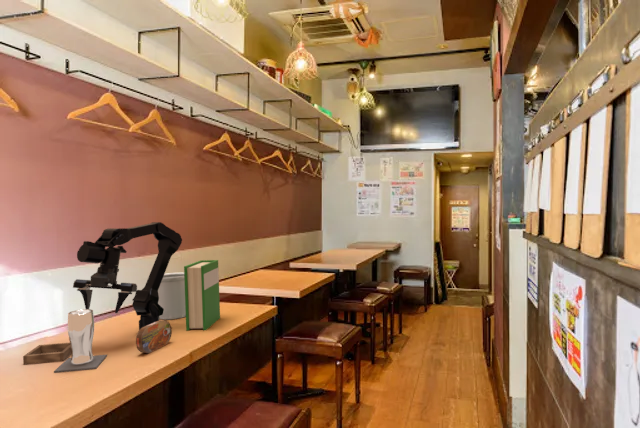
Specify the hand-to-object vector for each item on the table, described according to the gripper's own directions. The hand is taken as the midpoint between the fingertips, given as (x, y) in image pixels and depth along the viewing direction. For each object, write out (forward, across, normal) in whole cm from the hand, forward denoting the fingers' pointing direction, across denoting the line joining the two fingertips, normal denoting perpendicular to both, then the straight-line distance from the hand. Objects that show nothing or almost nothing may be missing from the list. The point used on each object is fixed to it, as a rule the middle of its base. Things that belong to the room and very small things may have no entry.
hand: (101, 312), depth 143 cm
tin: (+10, +19, -2) cm, 22 cm away
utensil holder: (+3, +15, +41) cm, 43 cm away
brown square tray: (+14, -12, -4) cm, 19 cm away
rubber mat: (+14, +1, -13) cm, 19 cm away
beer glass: (+14, +1, -12) cm, 19 cm away
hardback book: (+4, +30, +24) cm, 39 cm away
